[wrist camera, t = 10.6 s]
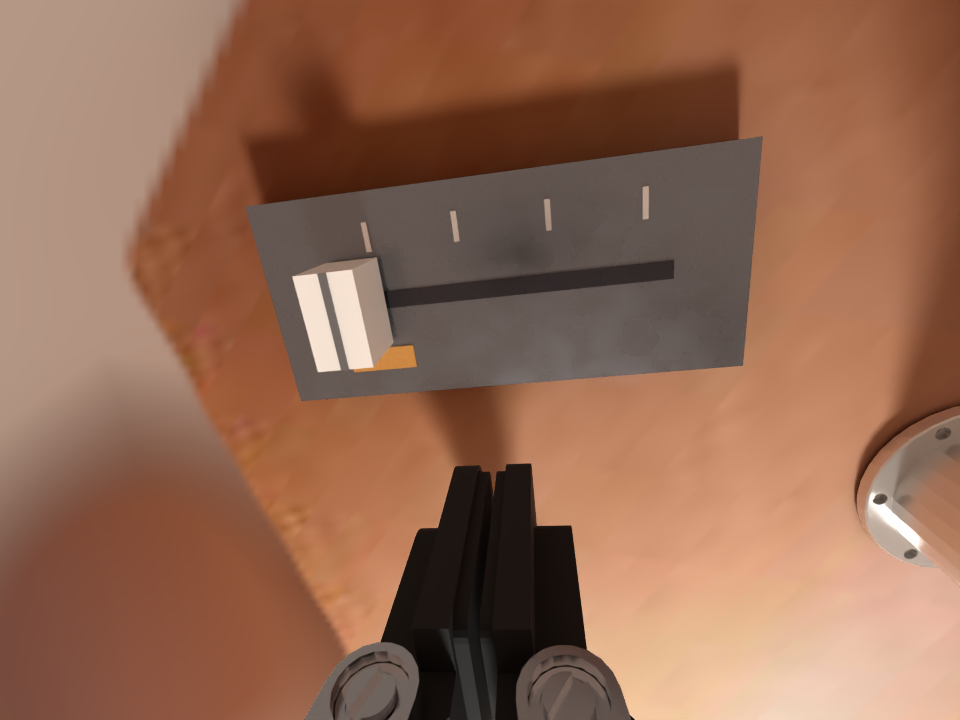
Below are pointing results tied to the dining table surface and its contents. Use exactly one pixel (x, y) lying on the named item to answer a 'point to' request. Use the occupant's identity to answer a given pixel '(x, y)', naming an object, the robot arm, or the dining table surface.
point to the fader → (345, 314)
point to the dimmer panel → (533, 270)
